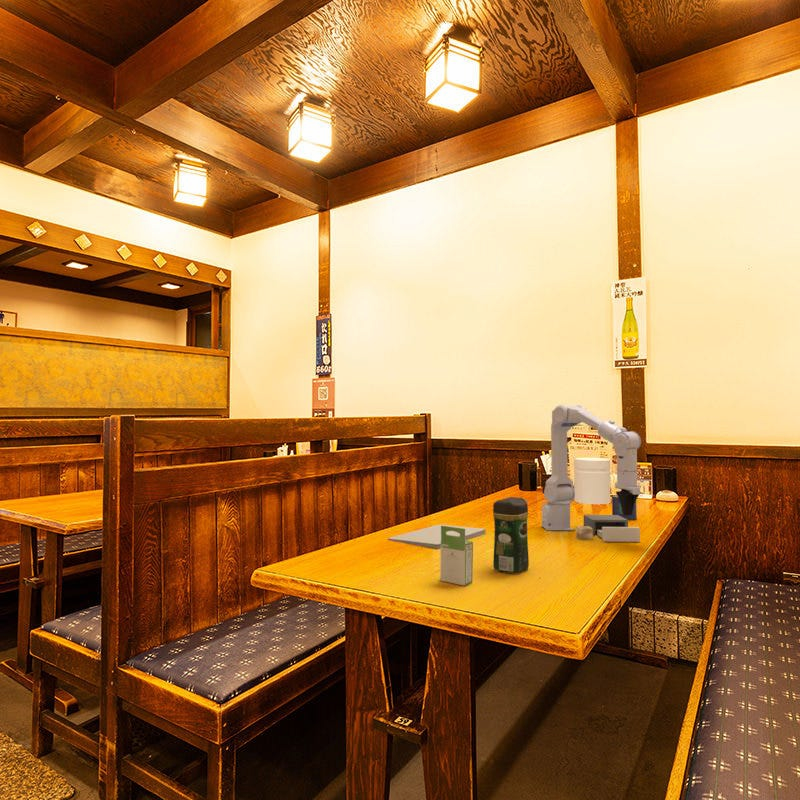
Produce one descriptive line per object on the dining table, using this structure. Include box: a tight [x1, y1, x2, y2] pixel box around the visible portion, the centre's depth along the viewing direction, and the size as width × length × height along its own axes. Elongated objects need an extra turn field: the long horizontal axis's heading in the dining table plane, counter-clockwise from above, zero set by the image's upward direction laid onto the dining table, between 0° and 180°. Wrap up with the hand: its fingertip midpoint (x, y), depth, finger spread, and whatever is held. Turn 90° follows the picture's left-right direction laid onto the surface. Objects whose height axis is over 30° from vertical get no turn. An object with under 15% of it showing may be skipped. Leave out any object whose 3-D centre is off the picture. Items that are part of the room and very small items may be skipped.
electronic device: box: [387, 524, 486, 550], centre depth 179 cm, size 29×20×2 cm
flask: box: [611, 494, 638, 521], centre depth 210 cm, size 9×3×11 cm, turn 87°
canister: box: [573, 457, 612, 506], centre depth 253 cm, size 16×16×20 cm
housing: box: [583, 514, 629, 536], centre depth 186 cm, size 12×9×5 cm
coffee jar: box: [492, 496, 530, 574], centre depth 141 cm, size 10×8×19 cm
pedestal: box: [576, 525, 594, 541], centre depth 177 cm, size 4×4×4 cm
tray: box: [596, 526, 641, 543], centre depth 176 cm, size 12×9×4 cm
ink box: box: [439, 525, 474, 587], centre depth 130 cm, size 7×4×13 cm, turn 52°
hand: (627, 514), depth 167 cm, fingers closed
